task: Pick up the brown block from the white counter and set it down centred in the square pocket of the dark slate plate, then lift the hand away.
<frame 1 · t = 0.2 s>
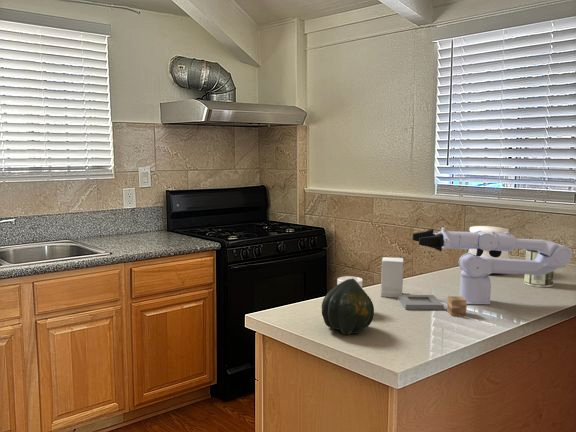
hand: (415, 239, 188), 21 cm above the worktop, tool horizontal, fingers open, 7 cm apart
coffee can: (538, 284, 217), on the worktop
supplement box: (391, 295, 200), on the worktop
brown block: (456, 313, 178), on the worktop
squash: (346, 330, 162), on the worktop
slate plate: (419, 304, 188), on the worktop
white cup: (349, 310, 180), on the worktop
milk container: (486, 271, 238), on the worktop
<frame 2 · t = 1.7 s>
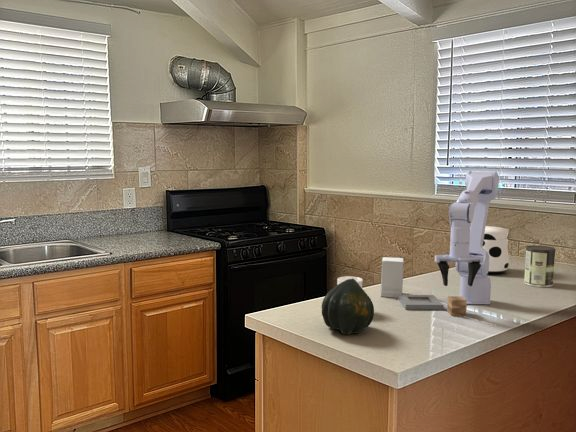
hand: (457, 285, 177), 9 cm above the worktop, tool pointing down, fingers open, 7 cm apart
nothing on the worktop moved.
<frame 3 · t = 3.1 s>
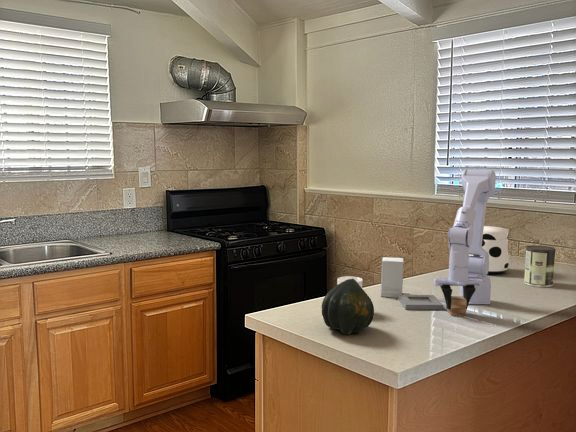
hand: (456, 308, 178), 2 cm above the worktop, tool pointing down, fingers closed on brown block, 4 cm apart
brown block: (456, 313, 178), on the worktop, touching gripper
everything else where it was.
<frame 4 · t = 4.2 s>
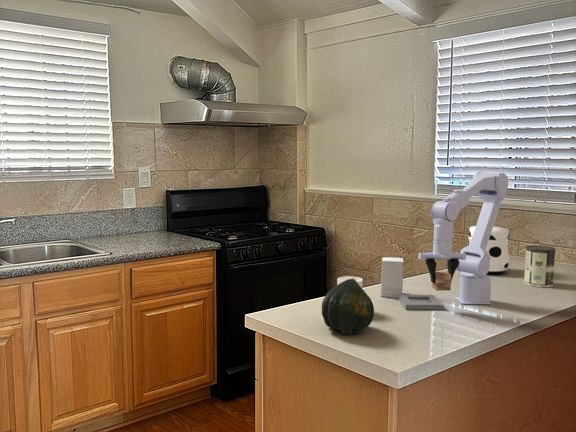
hand: (441, 282, 181), 9 cm above the worktop, tool pointing down, fingers closed on brown block, 5 cm apart
brown block: (441, 288, 181), point 7 cm above the worktop, touching gripper
everything else where it was.
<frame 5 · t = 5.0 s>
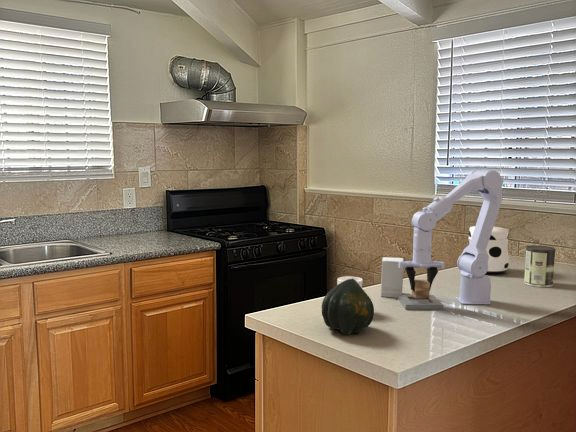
hand: (420, 289, 187), 5 cm above the worktop, tool pointing down, fingers closed on brown block, 5 cm apart
brown block: (420, 296, 187), point 3 cm above the worktop, touching gripper
everything else where it was.
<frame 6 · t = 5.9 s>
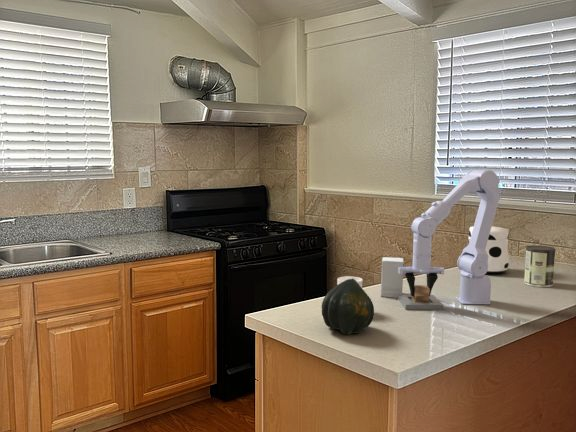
hand: (420, 295, 187), 3 cm above the worktop, tool pointing down, fingers closed on brown block, 5 cm apart
brown block: (420, 301, 187), point 1 cm above the worktop, touching gripper, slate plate
everything else where it was.
when the fingers open (3 cm above the worktop, at t = 5.9 s): brown block stays where it is, resting on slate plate.
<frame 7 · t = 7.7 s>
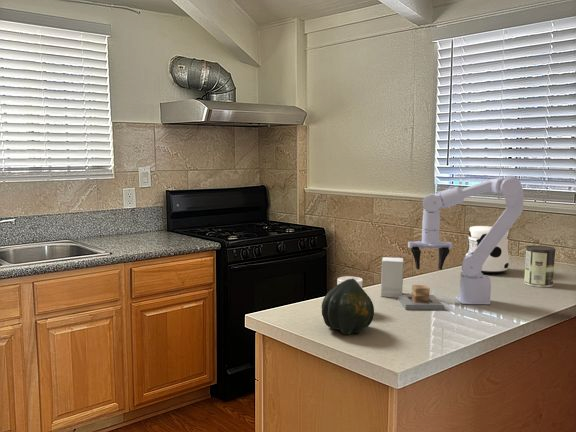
hand: (428, 268, 195), 10 cm above the worktop, tool pointing down, fingers open, 7 cm apart
brown block: (420, 301, 187), point 1 cm above the worktop, touching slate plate
everything else where it was.
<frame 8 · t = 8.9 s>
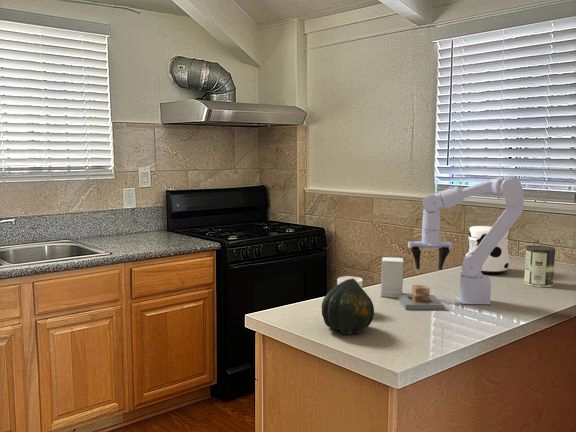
hand: (428, 268, 195), 10 cm above the worktop, tool pointing down, fingers open, 7 cm apart
nothing on the worktop moved.
at the end: brown block 0.3 cm off-centre on the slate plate, point 1.0 cm above the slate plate's base; brown block tilted 0°; the gripper is holding nothing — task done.
